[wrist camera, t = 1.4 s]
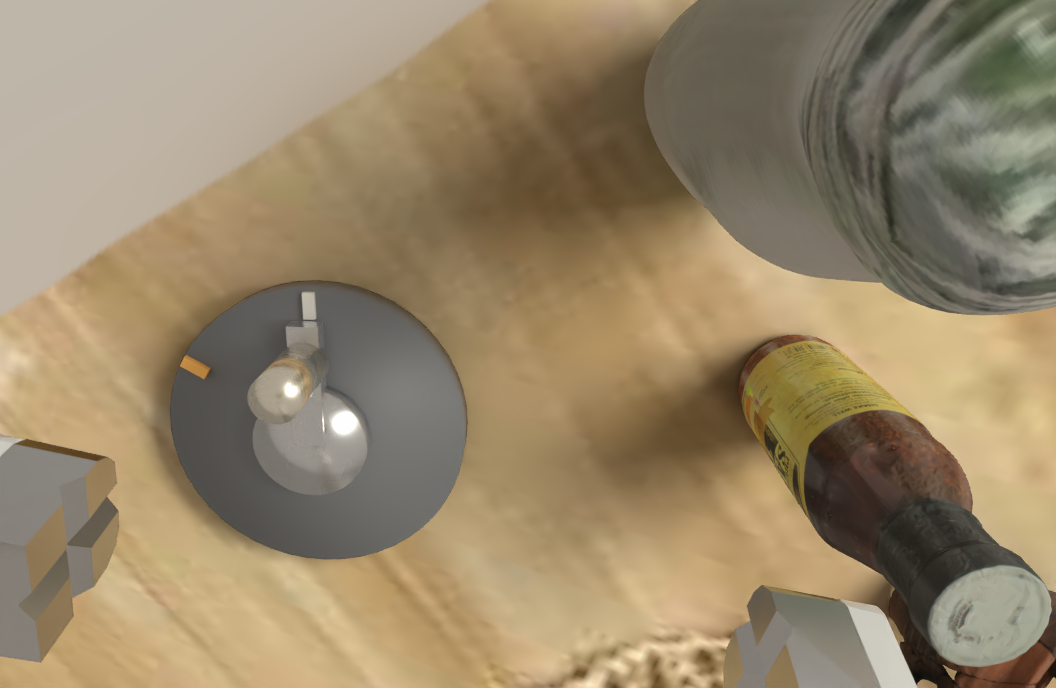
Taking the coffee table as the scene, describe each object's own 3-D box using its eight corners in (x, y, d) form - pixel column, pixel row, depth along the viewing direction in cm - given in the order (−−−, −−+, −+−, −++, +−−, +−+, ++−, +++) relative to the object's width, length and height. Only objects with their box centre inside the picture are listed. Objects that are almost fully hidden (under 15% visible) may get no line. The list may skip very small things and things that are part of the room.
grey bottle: (754, -62, 37) (1284, -419, 10) (875, 112, 39) (1560, 181, 13) (589, 83, 39) (682, 93, 13) (713, 240, 42) (1011, 526, 15)
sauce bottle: (710, 388, 44) (833, 618, 25) (792, 306, 43) (989, 486, 24) (793, 458, 45) (969, 727, 27) (876, 380, 44) (1125, 608, 25)
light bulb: (372, 486, 44) (347, 547, 38) (264, 482, 44) (222, 542, 38) (366, 321, 41) (338, 360, 35) (250, 317, 41) (203, 355, 35)
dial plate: (466, 545, 48) (462, 567, 45) (200, 535, 48) (184, 556, 46) (468, 285, 43) (464, 296, 40) (171, 275, 43) (150, 285, 41)
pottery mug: (959, 496, 47) (1105, 588, 40) (994, 554, 53) (1126, 642, 46) (823, 651, 47) (948, 767, 40) (874, 690, 52) (989, 798, 46)
